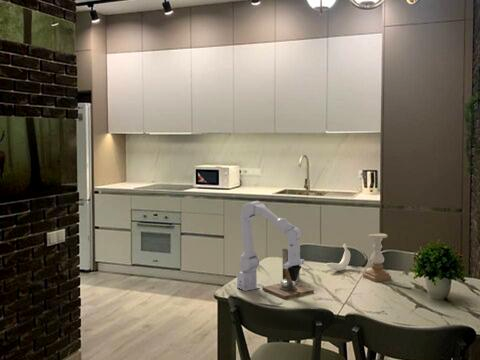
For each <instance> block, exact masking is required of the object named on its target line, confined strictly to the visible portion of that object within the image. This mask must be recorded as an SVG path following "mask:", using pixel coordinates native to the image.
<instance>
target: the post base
mask: <svg viewBox="0 0 480 360" xmlns="http://www.w3.org/2000/svg"><path fill="white" fill-rule="evenodd" d="M262 291H264V292H266V293H269V294H271V295H273V296H276V297H278V298H281V299H284V300H288V299H292V298H297V297H301V296H306V295H310V294H314V293H315V290H314V289H313V288H310V287H307V286H305V285H303V284H301V283H300V284H299V283H296V282H295V287H294V288H293V290H289V289H288V288H283V287H281V282H280V283H276V284H272V285H267V286H263V287H262Z"/></svg>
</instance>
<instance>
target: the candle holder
mask: <svg viewBox="0 0 480 360" xmlns="http://www.w3.org/2000/svg"><path fill="white" fill-rule="evenodd" d="M367 237H369V238H372V240H373V244H372V248H373V252H372V254H371V256H370V262H371V265H370V266H371V269H370V270H365V271H364V273H362V278H364V279H366V280H369V281H370V282H371V281H372V282H373V283H376V282H377V283H378V282H386V281H392V276H391V275H390V273H389V272H387V271H385V270H384V269H383V268H384V265H383V263H384V262H385V257H384V255H383V253H382V251H381V250H382V248H383V245H382V241H383V240H384V239H386V238H388V234H387V233H381V232H369V233H368V234H367Z"/></svg>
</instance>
